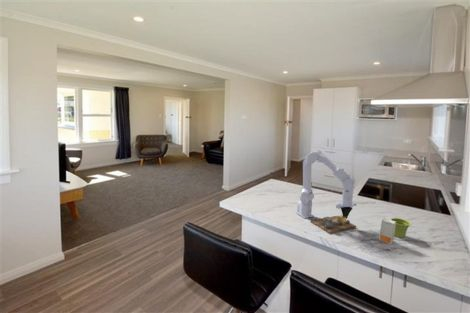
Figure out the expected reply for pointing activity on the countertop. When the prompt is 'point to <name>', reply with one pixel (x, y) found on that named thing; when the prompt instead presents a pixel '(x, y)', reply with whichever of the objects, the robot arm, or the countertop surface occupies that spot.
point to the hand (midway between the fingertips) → (345, 218)
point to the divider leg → (341, 219)
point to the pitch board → (330, 230)
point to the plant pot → (400, 227)
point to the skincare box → (387, 231)
